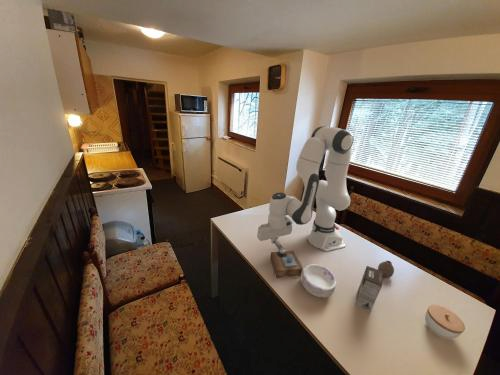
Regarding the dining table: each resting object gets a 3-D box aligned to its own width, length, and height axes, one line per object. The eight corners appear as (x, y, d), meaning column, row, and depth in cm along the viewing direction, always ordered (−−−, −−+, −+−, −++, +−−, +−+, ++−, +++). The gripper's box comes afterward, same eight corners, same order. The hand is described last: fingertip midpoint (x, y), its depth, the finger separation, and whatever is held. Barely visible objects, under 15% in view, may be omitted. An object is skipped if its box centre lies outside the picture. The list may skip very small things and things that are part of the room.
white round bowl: (338, 288, 97) (342, 276, 93) (324, 309, 86) (327, 296, 83) (310, 270, 106) (312, 258, 103) (294, 286, 96) (296, 274, 93)
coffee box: (357, 290, 96) (366, 264, 90) (372, 297, 93) (383, 271, 87) (354, 305, 89) (364, 278, 83) (371, 313, 86) (383, 285, 80)
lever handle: (285, 255, 108) (286, 250, 107) (280, 256, 107) (281, 251, 106) (278, 243, 116) (278, 239, 115) (273, 244, 115) (273, 240, 114)
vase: (378, 267, 110) (383, 255, 107) (392, 275, 106) (398, 262, 103) (374, 274, 106) (379, 261, 102) (389, 282, 101) (395, 269, 98)
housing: (292, 257, 114) (293, 250, 112) (300, 275, 102) (302, 268, 100) (270, 259, 112) (271, 251, 110) (276, 277, 100) (277, 270, 98)
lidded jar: (458, 333, 80) (470, 318, 76) (451, 351, 74) (463, 335, 70) (425, 312, 88) (434, 297, 84) (416, 326, 82) (426, 310, 78)
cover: (292, 258, 107) (293, 251, 105) (296, 266, 101) (297, 259, 100) (281, 258, 106) (282, 252, 104) (285, 267, 100) (286, 260, 99)
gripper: (261, 228, 101) (259, 250, 106) (295, 221, 109) (291, 242, 114) (256, 222, 106) (254, 243, 112) (288, 215, 114) (285, 235, 119)
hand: (273, 242), depth 113 cm, fingers closed
